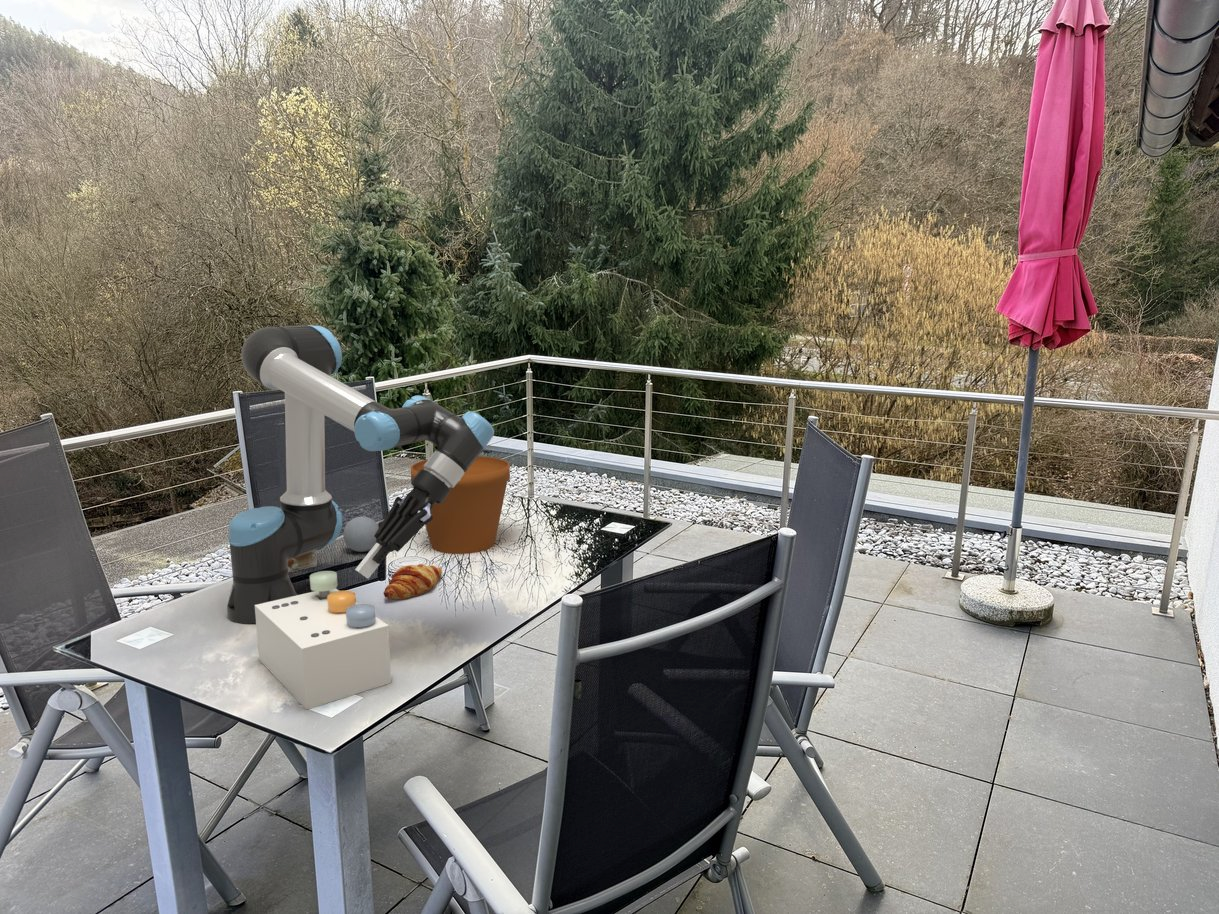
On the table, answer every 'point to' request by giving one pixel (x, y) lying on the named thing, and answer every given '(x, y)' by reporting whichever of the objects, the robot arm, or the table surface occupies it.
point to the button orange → (341, 601)
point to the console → (320, 649)
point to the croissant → (412, 581)
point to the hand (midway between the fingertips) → (361, 574)
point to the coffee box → (302, 561)
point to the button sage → (323, 582)
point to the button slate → (360, 615)
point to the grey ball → (360, 534)
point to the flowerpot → (469, 508)
